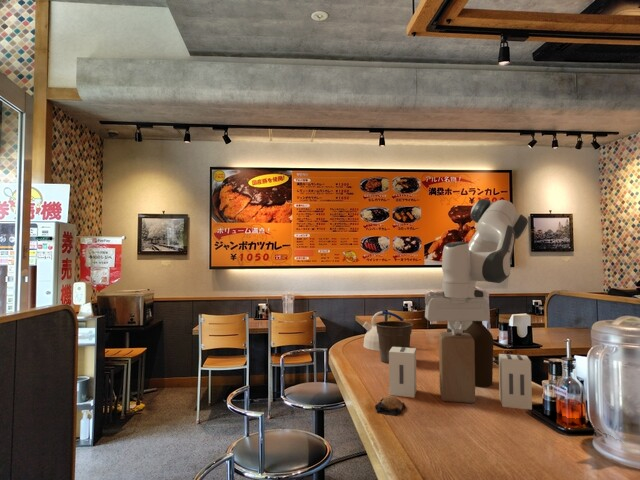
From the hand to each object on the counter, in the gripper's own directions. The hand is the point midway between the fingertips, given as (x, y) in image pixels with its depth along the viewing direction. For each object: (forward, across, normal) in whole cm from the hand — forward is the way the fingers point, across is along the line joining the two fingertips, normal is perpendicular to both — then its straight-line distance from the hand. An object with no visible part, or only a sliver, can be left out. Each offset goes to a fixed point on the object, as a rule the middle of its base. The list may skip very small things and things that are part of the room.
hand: (457, 335), depth 132 cm
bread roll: (+21, -24, -8) cm, 32 cm away
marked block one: (+20, -16, +6) cm, 26 cm away
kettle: (+20, -9, +77) cm, 80 cm away
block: (+20, 0, 0) cm, 20 cm away
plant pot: (+20, -10, +48) cm, 53 cm away
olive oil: (+20, +13, +15) cm, 29 cm away
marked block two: (+20, +16, -6) cm, 26 cm away
